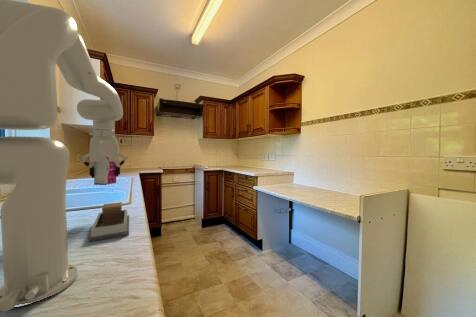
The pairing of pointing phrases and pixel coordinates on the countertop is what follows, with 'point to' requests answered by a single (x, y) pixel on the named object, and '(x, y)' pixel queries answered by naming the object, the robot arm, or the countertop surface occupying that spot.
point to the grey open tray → (110, 223)
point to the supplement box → (104, 172)
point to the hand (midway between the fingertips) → (105, 176)
